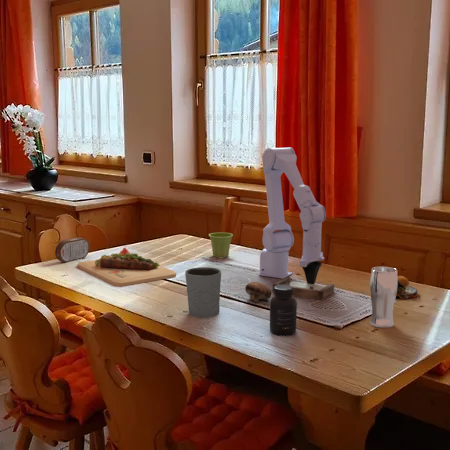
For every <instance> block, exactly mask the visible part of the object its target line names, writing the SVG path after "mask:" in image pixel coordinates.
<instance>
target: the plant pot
mask: <svg viewBox="0 0 450 450" xmlns="http://www.w3.org/2000/svg"><path fill="white" fill-rule="evenodd" d="M208 237H209V240H210V242H211V243H210V244H211V251H212V256H213V257H215V258H217V257H218V259H220V258H223V259H224V258H225V257H226V258H227V257H229V255H230V248H231V242H232V238H233V237H234V236H233V233H230V232H212V233H208Z"/></svg>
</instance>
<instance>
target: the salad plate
mask: <svg viewBox="0 0 450 450" xmlns="http://www.w3.org/2000/svg"><path fill="white" fill-rule="evenodd" d="M408 274H409V273H406V275H405V276H403V275H399V276H398V275H397V279H398V283H397V294H396V297H399V299H400V300H407V299H411V298H412V299H414V298H415V299H416V297H417V296H418V289H417V288H415V287H413V286H411V285H410V281H409V280H408V278H407V275H408Z"/></svg>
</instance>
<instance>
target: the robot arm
mask: <svg viewBox="0 0 450 450" xmlns="http://www.w3.org/2000/svg"><path fill="white" fill-rule="evenodd" d="M297 159H298V158H297V155H296V153H295V150H294V148H293V147H289V146H288V147H266V149H265V150H264V152H262V155H261V160H262V162H261V163H262V169H263V170H262V171H263V174H264V182H265V192H266V202H267V213H268V221H269V223H268V224H267V225H266V226H265V227H263V229H262V230H263V231H262V233H263V234H262V238H261V239H262V245H263V247H264V248H263V249H262V250H261V252H260V254H259V255H260V256H259V273H258V276H263V277H269V278H277V279H281V280H282V279H284V278H286V277H289V276H291V275H292V274H293V272H291V271H289V251H290V250H291V248H292V246H294V241H295V238H294V234H293V232H292V225H290V224H289V223H287V222H286V221H285V220H286V218H285V211H284V202H283V201H284V200H283V191H282V189H283V188H282V181H281V176H282V175H283V173H284V174H285V176H286V177H287V179H288V181H289V183H290V185H291V186H292V187H293V189H294V190H293V193H292V195H293V197H294V199H295V201H296V204H297V206H298V208H299V210H300V213H299V219H300V221H301V227H302V231H303V232H302V233H303V234H302V256H301V259H300V260H299V267H301V268H302V270H303V273H304V276H305V279H306V283H308V284H315V285H316V281H317V276H318V273H319V270H320V268H321V267H322V265H323V263H322V261H324V260H325V257H324V252H322V232H323V231H322V227H323V224H322V223H324V222H325V221H326V218H327V212H326V209H325V206H324V205H322V204H320V202H318V201H317V200H316V198H315V196H314V193H313V192H312V190H311V188H310V186H309V185H306V184H304V182H303V178H302V176H301V173H300V171H299V169H298V166H297Z"/></svg>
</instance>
